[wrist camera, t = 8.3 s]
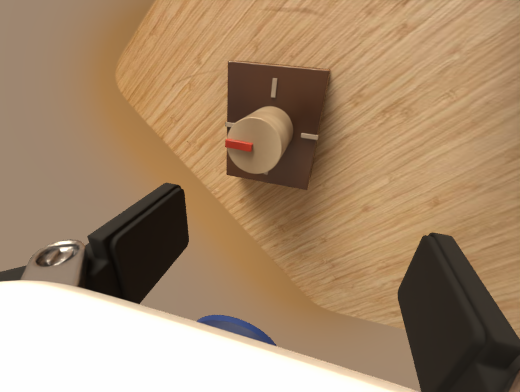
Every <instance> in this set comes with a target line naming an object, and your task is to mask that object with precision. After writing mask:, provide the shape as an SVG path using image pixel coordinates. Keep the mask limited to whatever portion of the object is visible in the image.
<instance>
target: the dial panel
mask: <svg viewBox="0 0 520 392" xmlns="http://www.w3.org/2000/svg"><path fill="white" fill-rule="evenodd" d="M330 71H331V70H330V69H320V68H310V67H299V66H288V65H278V64H267V63H256V62H246V61H228V109H227V122H225V126H227V136H228V133H229V131H230V129H231V127H232V126H233V125H234V124H235V123H236V122H238V121H239V120H241V119H243V118H244V117H246V116H248V115H250V114H251V113H253V112H255V111H256V110H258V109H260V108H262V107H266V106H273V107H277V108H279V109H281V110H283V111H284V112H285V113H286V114H287V115H288V116H289V118H290V120H291V122H292V125H293V136H292V140H291V142H290V144H289V145H288V147H287V148H286V150H285V152H284V153H283V155H282V157H281V158H280V160H279V161H278V163H277V164H276V166H275V167H274V168H272V169H271V170H269V171H267V172H265V173H260V174H253V173H248V172H246V171H244V170H242V169H240V168H239V167H238V166H237V165H235V163H234V162H233V161H232V159H231V158H230V156H229V153H228V150H227V175H230V176H236V177H241V178H246V179H251V180H257V181H262V182H267V183H272V184H278V185H283V186H288V187H293V188H298V189H304V190H307V188H308V184H309V180H310V176H311V170H312V165H313V160H314V155H315V149H316V144H317V140H318V134H319V128H320V123H321V118H322V113H323V107H324V102H325V97H326V92H327V86H328V81H329V76H330Z"/></svg>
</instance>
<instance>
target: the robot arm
mask: <svg viewBox="0 0 520 392" xmlns="http://www.w3.org/2000/svg"><path fill="white" fill-rule="evenodd" d="M88 240H89V243H88V244H87V245H86V246H85V245H84V244H83V243H82V242H81V241H78V240H62V241H59V242H55V243H52V244H50V245H47V246H45V247H44V248H42V249H40V250H38V251H37V252H36V253H35V254H34V255H33V256H32V257H31V258H30V260H29V262H28V264H27V266H23V267H19V268H14V269H11V270H6V271H2V272H0V392H419V391H416V390H413V389H409V388H406V387H403V386H401V385H398V384H394V383H392V382H388V381H386V380H382V379H379V378H376V377H373V376H370V375H366V374H363V373H360V372H357V371H354V370H350V369H347V368H344V367H341V366H338V365H335V364H331V363H328V362H325V361H322V360H319V359H316V358H312V357H309V356H306V355H303V354H300V353H296V352H293V351H290V350H287V349H283V348H280V347H277V346H274V345H271V344H267V343H264V342H261V341H258V340H254V339H251V338H248V337H245V336H242V335H238V334H235V333H232V332H229V331H225V330H222V329H219V328H216V327H212V326H209V325H206V324H202V323H199V322H196V321H193V320H189V319H186V318H183V317H179V316H176V315H173V314H170V313H166V312H163V311H160V310H156V309H153V308H149V307H146V306H143V305H140V302H141V301H142V300H143V299H144V298H145V296H146V295H147V294H148V293H149V292H150V290H151V289H152V288H153V287H154V286H155V284H156V283H157V282H158V281H159V280H160V278H161V277H162V276H163V275H164V274H165V272H166V271H167V270H168V269H169V268H170V266H171V265H172V264H173V262H174V261H175V260H176V259H177V258H178V257H179V256H180V254H181V253H182V252H183V250H184V249H185V248H186V247H187V245H188V242H189V236H188V225H187V216H186V206H185V194H184V190H183V189H181V187H180V186H179V185H176V184H171V183H165V184H163V185H161V186H160V187H158V188H157V189H156V190H154V191H153V192H151V193H150V194H148V195H147V196H145V197H144V198H142V199H141V200H139V201H138V202H137V203H135V204H134V205H132V206H131V207H129V208H128V209H126V210H125V211H123V212H122V213H121V214H119V215H118V216H116V217H115V218H113V219H112V220H110V221H109V222H107V223H106V224H105V225H103V226H102V227H100V228H99V229H97V230H96V231H94V232H93V233H91V234H90V235H88ZM398 301H399V305H400V309H401V313H402V317H403V321H404V325H405V329H406V333H407V336H408V340H409V344H410V348H411V352H412V356H413V360H414V364H415V368H416V372H417V376H418V380H419V384H420V388H421V392H520V339H519V338H518V336H517V335H516V333H515V332H514V330H513V329H512V327H511V325H510V324H509V322H508V321H507V319H506V318H505V316H504V315H503V313H502V312H501V310H500V309H499V307H498V306H497V304H496V303H495V301H494V300H493V298H492V296H491V295H490V293H489V292H488V290H487V289H486V287H485V286H484V284H483V283H482V281H481V280H480V278H479V277H478V275H477V274H476V272H475V271H474V269H473V267H472V266H471V264H470V263H469V261H468V260H467V258H466V257H465V255H464V254H463V252H462V251H461V249H460V248H459V246H458V245H457V243H456V242H455V240H454V238H453V237H452V236H448V235H443V234H438V233H430V234H429V235H428V236H426V235H425V236H423V237H422V239H421V241H420V243H419V246H418V248H417V250H416V252H415V254H414V256H413V259H412V261H411V263H410V265H409V267H408V270H407V272H406V274H405V276H404V278H403V281H402V283H401V285H400V287H399V290H398Z"/></svg>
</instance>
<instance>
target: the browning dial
mask: <svg viewBox="0 0 520 392" xmlns="http://www.w3.org/2000/svg"><path fill="white" fill-rule="evenodd" d="M292 136H293V125H292V122H291V120H290V118H289V116H288V115H287V114H286V113H285V112H284V111H283V110H281V109H279V108H277V107H273V106H266V107H262V108H260V109H258V110H256V111H255V112H253V113H251V114H250V115H248V116H246V117H244V118H243V119H241V120H239V121H238V122H236V123H235V124H234V125H233V126H232V127H231V129H230V131H229V133H228V136H227V139H226V141H225V147H227V150H228V153H229V156H230V158H231V159H232V161H233V162H234V163H235V165H237V166H238V167H239V168H240V169H242V170H244V171H246V172H248V173H253V174H260V173H265V172H267V171H269V170H271V169H272V168H274V167H275V166H276V164H277V163H278V161H279V160H280V158H281V157H282V155H283V153H284V152H285V150H286V148H287V147H288V145H289V144H290V142H291V140H292Z"/></svg>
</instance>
